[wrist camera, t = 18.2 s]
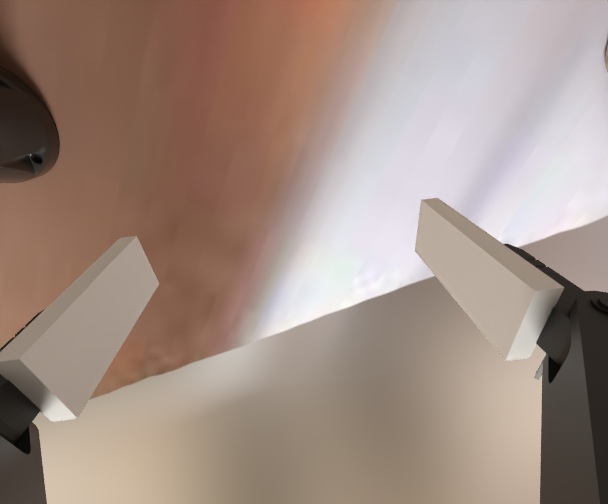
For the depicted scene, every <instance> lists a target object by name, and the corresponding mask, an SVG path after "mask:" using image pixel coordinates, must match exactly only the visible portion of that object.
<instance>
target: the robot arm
mask: <svg viewBox="0 0 608 504" xmlns="http://www.w3.org/2000/svg"><path fill="white" fill-rule="evenodd" d="M58 154H59V138H58V133H57V130H56V127H55V124H54V122H53V120H52V118H51V116H50V114H49V112H48V111H47V109H46V107H45V106H44V105H43V103H42V102H41V101H40V99H39V98H38V97H37V96H36V95H35V94H34V93H33V91H32V90H31V89H30V88H28V87H27V86H26V85H25V84H24V83H23V82H22V81H21V80H19V79H18V78H17V77H15V76H14V75H13V74H11V73H10V72H8V71H6V70H5V69H3V68H1V67H0V183H19V182H24V181H28V180H31V179H34V178H36V177H39V176H41V175H43V174H45V173H47V172H48V171H49V170H50V169H51V168H52V167H53V166H54V164H55V162H56V160H57V158H58ZM415 252H416V253H417V254H418V255H419V256H420V258H421V259H422V260H423V261H424V263H425V264H426V265H427V266H428V267H429V269H430V270H431V271H432V272H433V273H434V275H435V276H436V277H437V278H438V280H439V281H440V282H441V283H442V284H443V286H444V287H445V288H446V289H447V291H448V292H449V293H450V294H451V295H452V296H453V298H454V299H455V300H456V301H457V303H458V304H459V305H460V306H461V308H462V309H463V310H464V311H465V312H466V313H467V315H468V316H469V317H470V318H471V320H472V321H473V322H474V323H475V325H476V326H477V327H478V328H479V329H480V331H481V332H482V333H483V334H484V335H485V337H486V338H487V339H488V340H489V341H490V343H491V344H492V345H493V346H494V348H495V349H496V350H497V351H498V352H499V354H500V355H501V356H502V357H503V359H504V360H505V361H509V360H516V359H524V358H530V356H531V354H532V352H533V350H534V348H535V346H536V344H538V345H539V346H540V347H541V348H542V349H543V350H544V351H545V352H546V353H547V354H546V356H545V358H544V359H543V361H542V363H541V365H540V367H539V369H538V371H537V372H536V375H535V378H536V379H539V378H540V377H541V375H542V429H541V483H540V484H541V485H540V504H608V293H606V292H599V291H583V290H582V289H580V288H579V287H577V286H576V285H574V284H573V283H571V282H570V281H568V280H567V279H565V278H564V277H562V276H561V275H559V274H558V273H556V272H555V271H554V270H552V269H551V268H549V267H546V266H545V264H543V263H542V262H540V261H539V260H535V258H534V257H533V256H531V255H530V254H528V253H527V252H525V251H524V250H522V249H519V248H517V247H514V246H512V245H509V244H502V243H501V242H499V241H498V240H496V239H495V238H494V237H492V236H491V235H489V234H488V233H487V232H485V231H484V230H482V229H481V228H479V227H478V226H477V225H475V224H474V223H472V222H471V221H470V220H468V219H467V218H465V217H464V216H463V215H461V214H460V213H458V212H457V211H455V210H454V209H453V208H451V207H450V206H448V205H447V204H446V203H444V202H443V201H441V200H440V199H438V198H433V199H425V200H421V206H420V214H419V222H418V230H417V238H416V246H415ZM158 285H159V282H158V280H157V278H156V276H155V274H154V272H153V270H152V268H151V265H150V263H149V261H148V259H147V257H146V255H145V253H144V251H143V249H142V246H141V244H140V242H139V240H138V238H137V236H133V237H125V238H119V239H118V240H117V241H116V242H115V243H114V244H113V245H112V246H111V247H110V248H109V249H108V250H107V251H106V252H105V253H104V254H103V255H102V256H100V257H99V258H98V259H97V260H96V261H95V262H94V263H93V264H92V265H91V266H90V267H89V268H88V269H87V270H86V271H85V272H84V273H83V274H82V275H81V276H79V277H78V278H77V279H76V280H75V281H74V282H73V283H72V284H71V285H70V286H69V287H68V288H67V289H66V290H65V291H64V292H63V293H62V294H61V295H60V296H58V297H57V298H56V299H55V300H54V301H53V302H52V303H51V304H50V305H49V306H48V307H47V308H46V309H44V310H43V311H41V312H40V313H38V314H37V315H36V316H35V317H34V318H33V319H32V320H31V321H30V322H28V323H27V324H26V325H25V326H26V327H25V328H22V329H21V330H20V331H19V332H18V333H17V334H16V335H15V337H14V338H12V339H10V340H9V341H8V342H7V343H6V344H5V345H4V346H3V347H2V348H1V349H0V504H47V502H46V493H45V484H44V475H43V466H42V457H41V448H40V440H39V430H38V429H37V427H36V425H35V424H33V423H32V421H33V420H34V418H35V417H36V416H37V414H38V413H39V412H40V411H41V412H42V413H43V414H44V415H45V416H46V417H47V418H48V419H50V420H51V421H52V422H54V421H62V420H69V419H77V418H78V417H79V415H80V413H81V412H82V410H83V409H84V407H85V405H86V404H87V402H88V400H89V399H90V397H91V395H92V394H93V392H94V390H95V389H96V387H97V385H98V384H99V382H100V381H101V379H102V377H103V376H104V374H105V372H106V371H107V369H108V367H109V366H110V364H111V362H112V361H113V359H114V357H115V356H116V354H117V353H118V351H119V349H120V348H121V346H122V344H123V343H124V341H125V339H126V338H127V336H128V334H129V333H130V331H131V329H132V328H133V326H134V325H135V323H136V321H137V320H138V318H139V316H140V315H141V313H142V311H143V310H144V308H145V306H146V305H147V303H148V301H149V300H150V298H151V297H152V295H153V293H154V292H155V290H156V288H157V287H158Z"/></svg>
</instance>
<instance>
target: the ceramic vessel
mask: <svg viewBox="0 0 608 504" xmlns="http://www.w3.org/2000/svg"><path fill="white" fill-rule="evenodd" d="M605 64H606V69H607V71H608V45H607V50H606V58H605Z"/></svg>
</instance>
